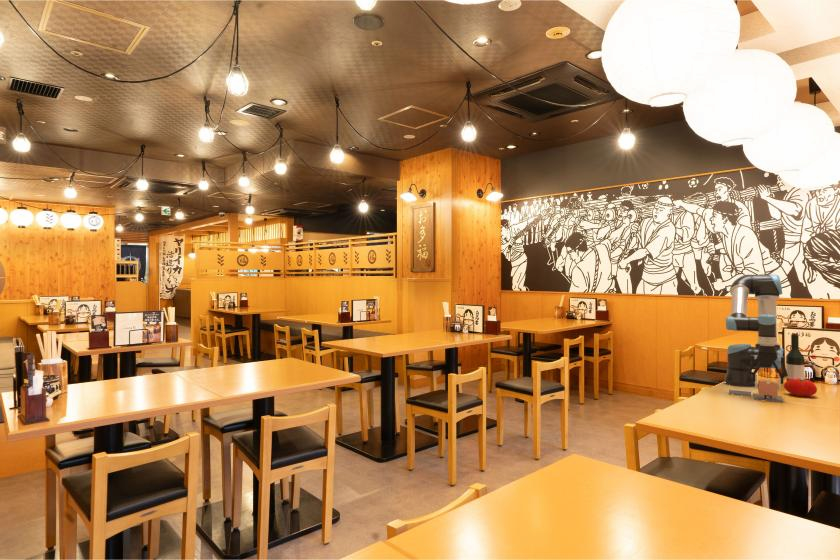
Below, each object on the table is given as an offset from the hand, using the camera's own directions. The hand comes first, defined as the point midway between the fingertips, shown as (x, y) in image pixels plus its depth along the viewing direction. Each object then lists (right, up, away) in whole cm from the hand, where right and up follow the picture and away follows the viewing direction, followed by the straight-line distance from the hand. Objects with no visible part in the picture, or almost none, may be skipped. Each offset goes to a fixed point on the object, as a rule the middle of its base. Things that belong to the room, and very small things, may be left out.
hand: (767, 389), depth 251 cm
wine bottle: (+37, -5, +31) cm, 49 cm away
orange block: (0, -2, 0) cm, 2 cm away
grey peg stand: (0, -5, 0) cm, 5 cm away
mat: (-6, -5, +12) cm, 15 cm away
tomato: (+22, -5, +7) cm, 24 cm away
